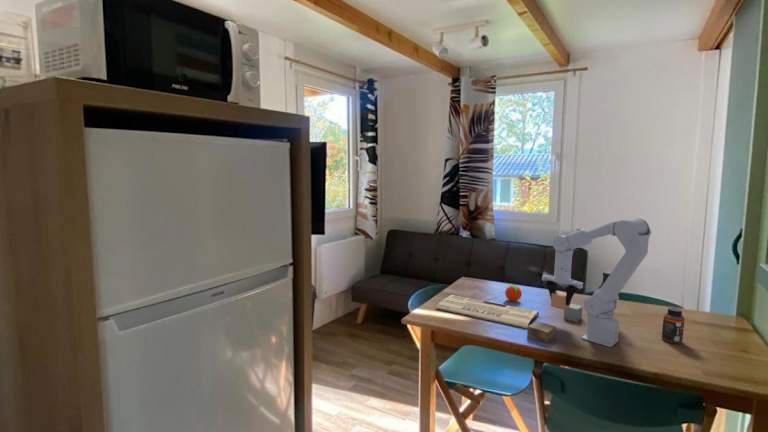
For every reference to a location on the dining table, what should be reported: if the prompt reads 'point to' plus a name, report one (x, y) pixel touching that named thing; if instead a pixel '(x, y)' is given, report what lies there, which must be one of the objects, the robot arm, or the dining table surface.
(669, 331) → the supplement bottle
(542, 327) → the walnut block
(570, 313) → the slate cube
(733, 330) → the dining table surface
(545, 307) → the dining table surface
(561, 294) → the terracotta cube
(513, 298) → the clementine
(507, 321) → the newspaper
